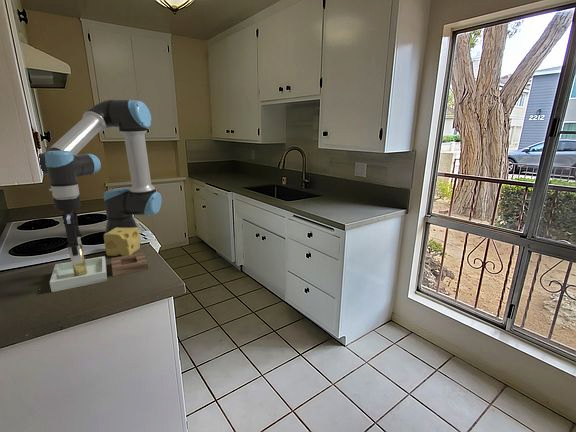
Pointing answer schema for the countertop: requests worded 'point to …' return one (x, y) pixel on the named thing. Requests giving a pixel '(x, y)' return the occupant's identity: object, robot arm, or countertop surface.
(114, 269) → the pin block
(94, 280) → the tray
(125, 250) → the cheese
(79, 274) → the brown and black cylinder
